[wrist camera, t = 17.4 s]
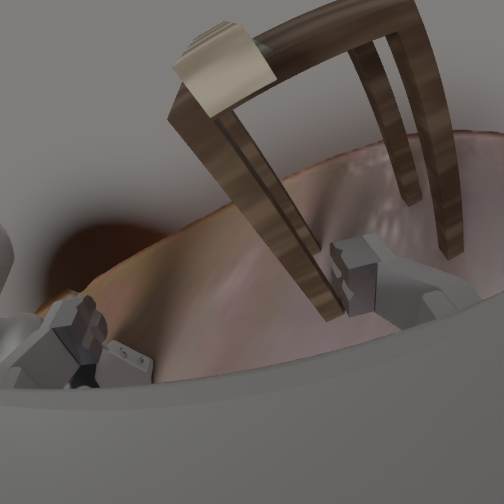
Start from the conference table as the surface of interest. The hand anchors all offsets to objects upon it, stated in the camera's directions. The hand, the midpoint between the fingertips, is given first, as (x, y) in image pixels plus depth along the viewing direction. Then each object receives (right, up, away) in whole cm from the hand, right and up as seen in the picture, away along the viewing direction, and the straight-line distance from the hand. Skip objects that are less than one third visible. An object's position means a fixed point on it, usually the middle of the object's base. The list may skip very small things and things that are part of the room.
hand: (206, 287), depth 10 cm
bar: (0, +15, +11) cm, 19 cm away
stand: (+18, +1, +31) cm, 36 cm away
